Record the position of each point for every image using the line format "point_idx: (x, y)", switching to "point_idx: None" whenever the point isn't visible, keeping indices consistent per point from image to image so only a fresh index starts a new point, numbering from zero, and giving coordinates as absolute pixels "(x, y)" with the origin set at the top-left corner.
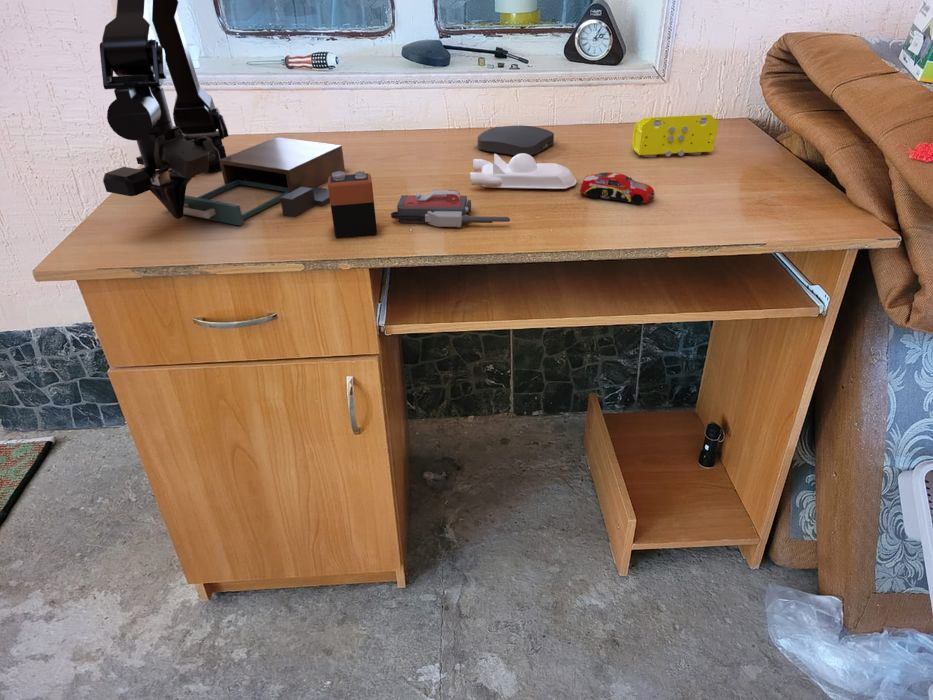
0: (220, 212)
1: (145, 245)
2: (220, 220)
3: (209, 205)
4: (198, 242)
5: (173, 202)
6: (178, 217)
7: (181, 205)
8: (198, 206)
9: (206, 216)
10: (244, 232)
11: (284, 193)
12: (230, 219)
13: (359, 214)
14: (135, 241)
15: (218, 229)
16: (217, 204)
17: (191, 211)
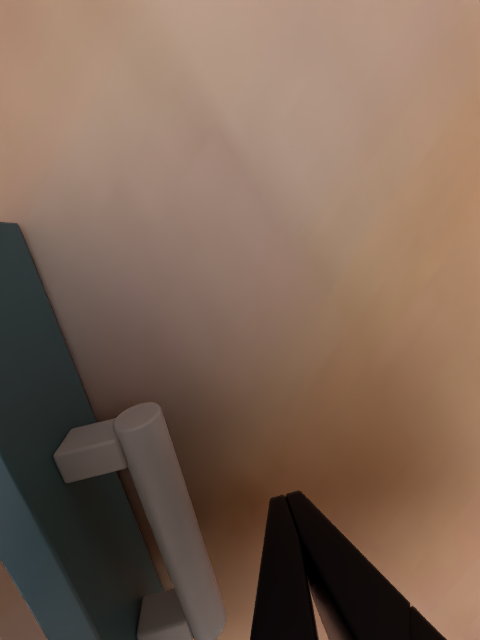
0: (41, 397)
1: (471, 416)
2: (76, 383)
3: (59, 510)
4: (330, 234)
5: (397, 609)
6: (305, 497)
7: (287, 572)
8: (109, 571)
9: (158, 407)
10: (50, 104)
11: None
12: (30, 302)
13: None
14: (457, 483)
15: (146, 307)
16: (7, 448)
17: (190, 530)
